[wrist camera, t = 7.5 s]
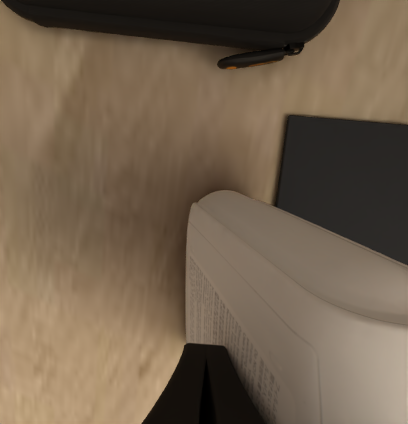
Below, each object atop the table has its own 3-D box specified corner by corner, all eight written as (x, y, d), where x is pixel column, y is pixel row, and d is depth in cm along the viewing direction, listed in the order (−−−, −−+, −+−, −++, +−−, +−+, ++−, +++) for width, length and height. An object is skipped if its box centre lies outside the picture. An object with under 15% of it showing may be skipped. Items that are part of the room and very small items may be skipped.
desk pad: (523, 135, 16) (531, 135, 16) (427, 451, 21) (431, 457, 20) (287, 115, 16) (289, 115, 15) (243, 437, 20) (244, 443, 20)
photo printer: (250, 356, 19) (472, 691, 8) (181, 370, 18) (319, 794, 6) (260, 187, 17) (603, 301, 5) (181, 190, 16) (401, 346, 4)
